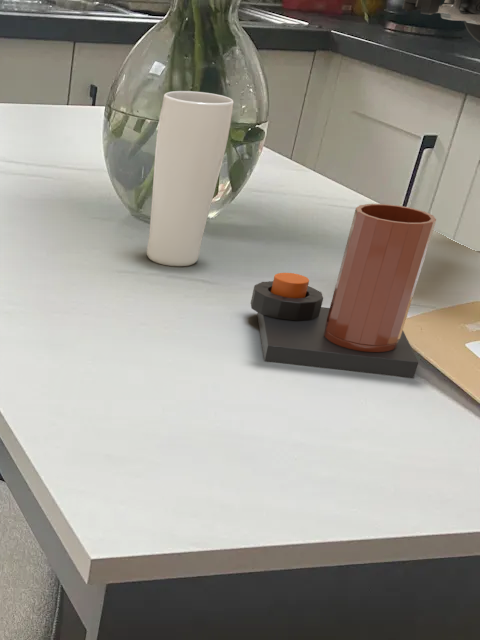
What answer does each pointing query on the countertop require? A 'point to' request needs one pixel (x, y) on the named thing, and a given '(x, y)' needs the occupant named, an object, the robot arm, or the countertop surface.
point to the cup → (378, 276)
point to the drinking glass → (186, 173)
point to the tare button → (290, 285)
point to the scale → (318, 337)
